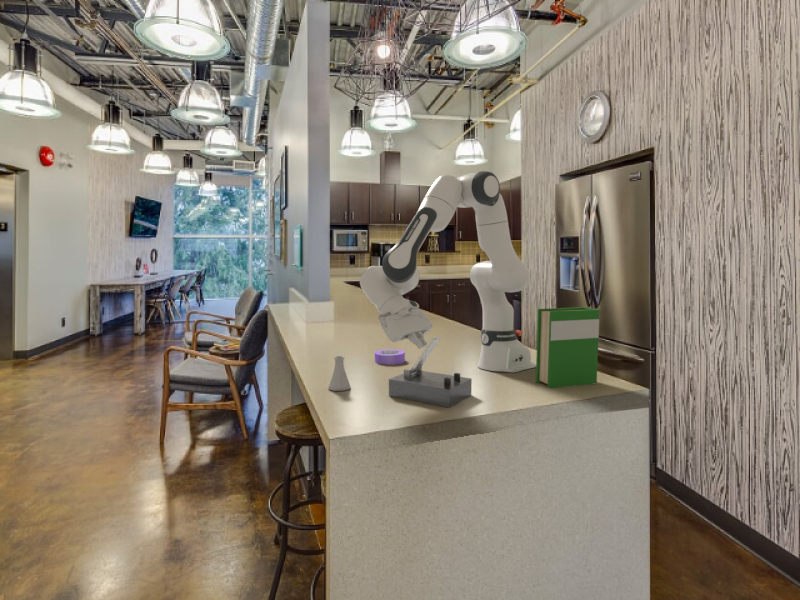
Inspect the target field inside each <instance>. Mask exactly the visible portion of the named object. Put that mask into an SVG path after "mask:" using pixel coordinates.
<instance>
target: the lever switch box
mask: <svg viewBox="0 0 800 600" xmlns="http://www.w3.org/2000/svg"><path fill="white" fill-rule="evenodd" d="M388 396H389V397H394V398H397V399H398V398H399V399H403V400H409V401H414V402H419V403H423V404H428V405H433V406H439V407H443V408H448V409H450V408H451V407H453V406H456V405H457V404H458V403H461V402H462V401H465V400H466V399H467V398H469V397H471V396H472V378H471V377H464V376H461V373H460V372H454V374H453V375H451V374H446V373H438V372H432V371H428V370H427V371H426V370H423V366H422V367H421V368H420V369H419V371H418V374H416V375H413V376H411V369H407V368H405V369H404V370H403V373H401V374H398V375H396V376H393V377H391V378H388Z"/></svg>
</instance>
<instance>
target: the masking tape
mask: <svg viewBox="0 0 800 600" xmlns="http://www.w3.org/2000/svg"><path fill="white" fill-rule="evenodd" d="M405 354H406V352H405V350H403V349H397V348H396V349H395V348H387V349H386V348H385V349H378V350H376V351H374V362H375V363H376V364H379V365H387V366H388V365H389V366H390V365H400V364H403V363H404V362H406V357H405Z"/></svg>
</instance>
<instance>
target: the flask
mask: <svg viewBox="0 0 800 600" xmlns="http://www.w3.org/2000/svg"><path fill="white" fill-rule="evenodd" d="M333 357H334V368H333V371H332V374H331V377H330V380H329V384H328V388H327V389H328V390H329V391H334V392H340V391H343V392H344V391H347V390H350V389H351V383H350V381H349V379H348V375H347V373H346V372H347V371H346V370H345V365H344V359H345V356H344V355H336V356H335V355H334V356H333Z"/></svg>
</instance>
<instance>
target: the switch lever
mask: <svg viewBox="0 0 800 600" xmlns="http://www.w3.org/2000/svg"><path fill="white" fill-rule="evenodd" d="M441 339H442V338H441V336H439V335H438V336H435V337H432V338H431V339H430V341H429V342H428V343H427V345H426V346H425V347H424V350H423V351H422V353H421V354H420V356H419V357H418V359H417V360H416V362H415V363H414V364H413V367H411V369H410V370H411V376H413V375H416V374H418V371H419V369H420V368H421V367H422V368H423V365H424V364H425V362H426V361H427V359H428V358H429V357H430V355H431V353H432V352H433V350H434V349H435V347H436V346H437V344H438V343H439V342H440V341H441Z"/></svg>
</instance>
